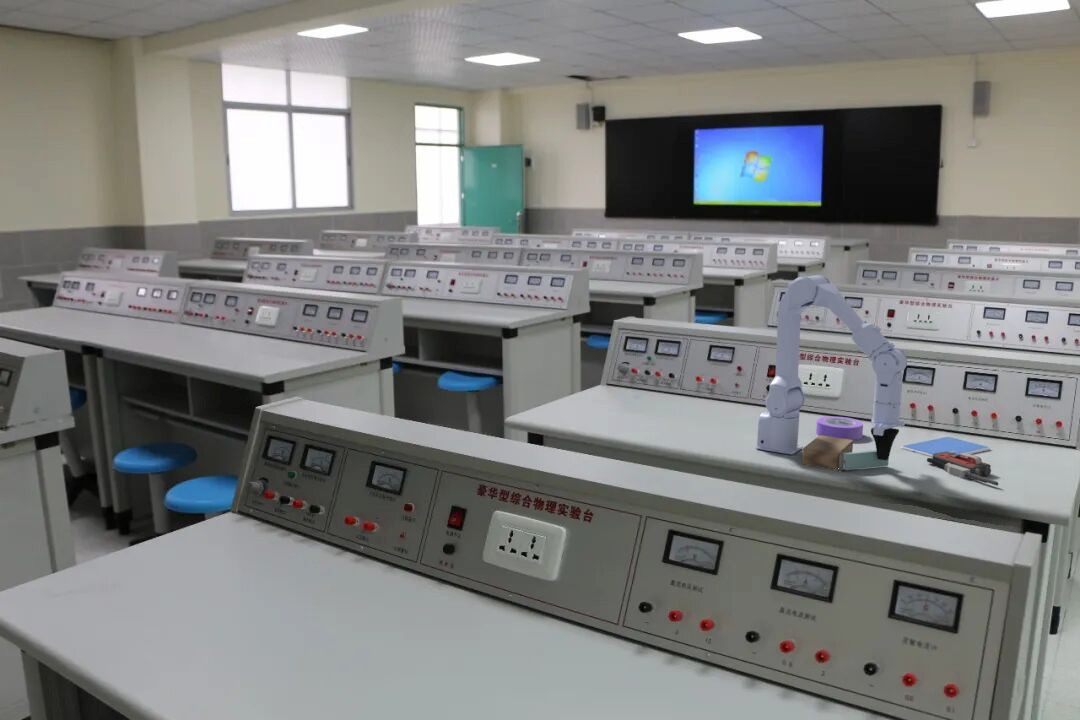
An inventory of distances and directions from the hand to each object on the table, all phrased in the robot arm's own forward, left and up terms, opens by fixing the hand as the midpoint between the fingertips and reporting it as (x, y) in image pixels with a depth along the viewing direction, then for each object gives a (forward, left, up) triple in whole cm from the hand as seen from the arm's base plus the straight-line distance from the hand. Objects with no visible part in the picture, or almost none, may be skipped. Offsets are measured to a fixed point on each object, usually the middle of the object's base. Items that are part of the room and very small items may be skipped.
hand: (882, 459), depth 203 cm
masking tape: (-17, +27, -3) cm, 32 cm away
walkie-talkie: (+17, +8, -3) cm, 19 cm away
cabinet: (-13, +1, -3) cm, 13 cm away
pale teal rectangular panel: (-4, -2, -2) cm, 4 cm away
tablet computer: (+9, +28, -3) cm, 30 cm away
